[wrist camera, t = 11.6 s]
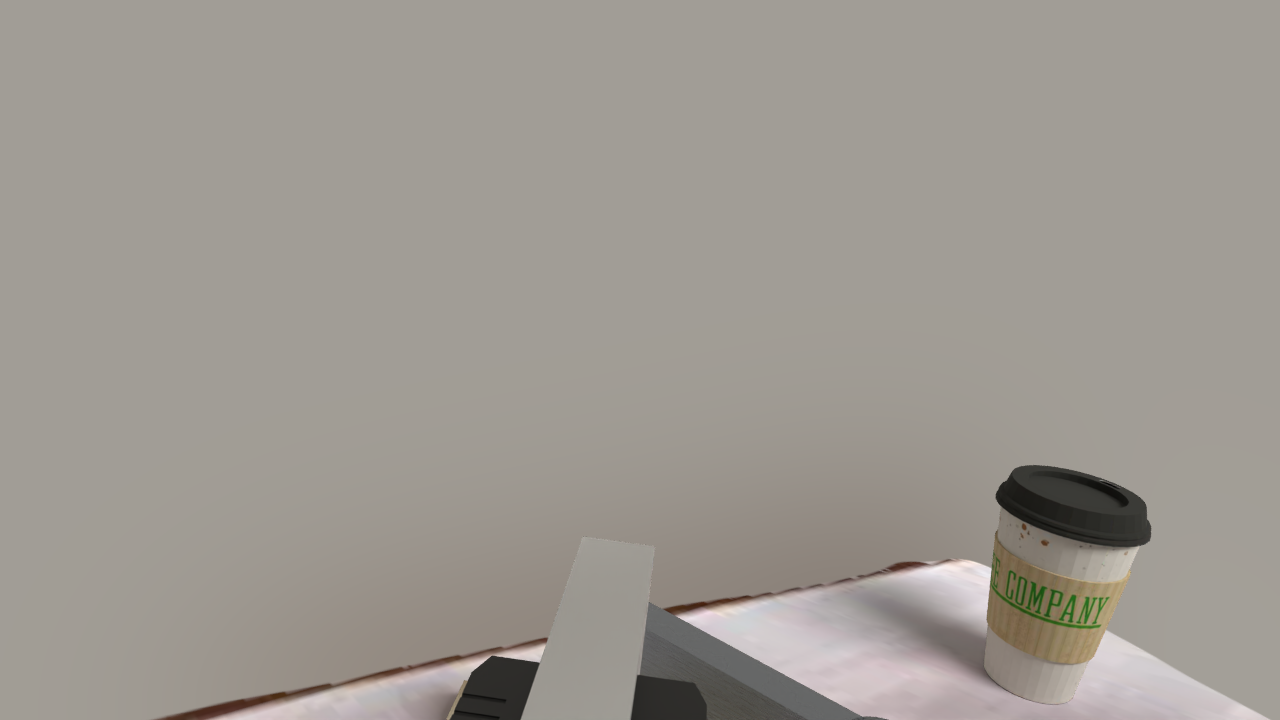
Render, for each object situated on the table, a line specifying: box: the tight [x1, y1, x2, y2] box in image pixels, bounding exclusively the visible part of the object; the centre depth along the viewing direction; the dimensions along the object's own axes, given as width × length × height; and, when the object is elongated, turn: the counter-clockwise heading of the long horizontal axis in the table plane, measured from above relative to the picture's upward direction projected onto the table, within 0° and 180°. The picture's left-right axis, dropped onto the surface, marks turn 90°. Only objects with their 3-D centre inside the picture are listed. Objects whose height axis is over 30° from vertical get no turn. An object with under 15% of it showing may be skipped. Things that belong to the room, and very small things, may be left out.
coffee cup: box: [984, 465, 1151, 704], centre depth 59 cm, size 10×10×15 cm
